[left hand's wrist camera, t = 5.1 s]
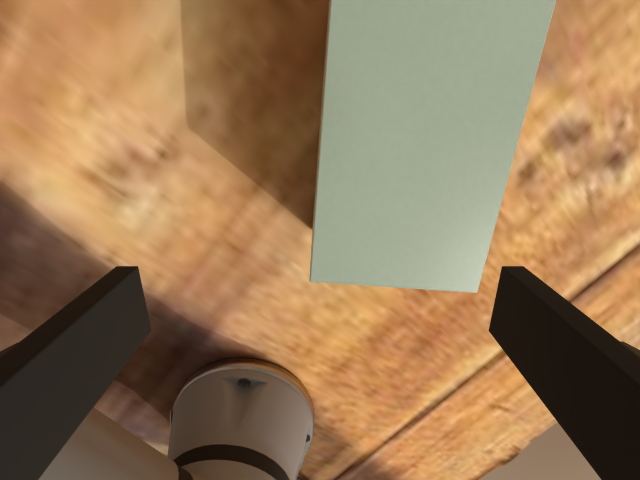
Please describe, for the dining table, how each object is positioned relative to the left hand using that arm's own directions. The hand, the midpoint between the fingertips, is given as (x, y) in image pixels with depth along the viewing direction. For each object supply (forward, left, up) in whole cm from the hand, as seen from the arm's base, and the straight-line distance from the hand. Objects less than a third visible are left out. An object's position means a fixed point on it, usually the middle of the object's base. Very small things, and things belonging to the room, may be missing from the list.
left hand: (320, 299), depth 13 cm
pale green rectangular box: (+1, -8, -19) cm, 20 cm away
